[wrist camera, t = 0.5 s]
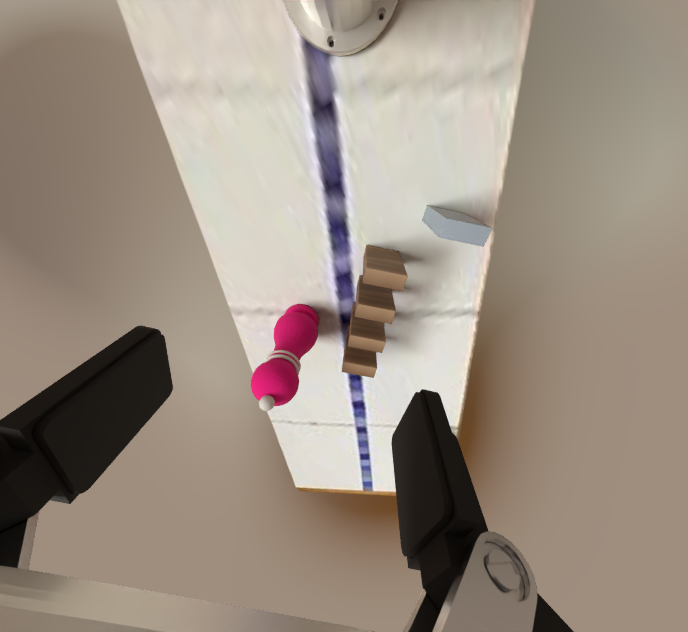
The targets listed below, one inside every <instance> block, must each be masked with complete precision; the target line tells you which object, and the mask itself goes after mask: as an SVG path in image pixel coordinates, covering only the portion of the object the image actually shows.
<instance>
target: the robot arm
mask: <svg viewBox="0 0 688 632" xmlns="http://www.w3.org/2000/svg"><path fill="white" fill-rule="evenodd" d="M283 3H284V5H285V8H286V10H287V12H288V14H289V17H290V18H291V20H292V22H293V24H294V26H295V27H296V29H297V30H298V31H299V33H300V34H301V35H302V37H303V38H304V39H305V40H306V41H307V42H308V43H310V44H311V45H312V46H313V47H315V48H316V49H318V50H320V51H321V52H323V53H327V54H330V55H333V56H346V55H350V54H354V53H357V52H358V51H360V50H362V49H364V48H366V47H367V46H368V45H370V44H371V43H372V42H373V41H374V40H376V38H377V37H378V36H379V35H380V34H381V32H382V31H383V30H384V29H385V27H386V25H387V24H388V22H389V20H390V18H391V17H392V15H393V13H394V10H395V8H396V5H397V3H398V0H283ZM380 15H383V17H384V19H383V20H379V16H380ZM331 42H334V46H333V47H330V43H331ZM172 389H173V385H172V379H171V373H170V367H169V362H168V355H167V349H166V343H165V338H164V336H163V335H161V332H160V331H159V330H157V329H154V328H149V327H145V326H137V327H135V328H134V329H132V330H131V331H129V332H128V333H127V334H125V335H124V336H122V337H121V338H119V339H118V340H117V341H115V342H113V343H112V344H111V345H109V346H108V347H106V348H105V349H104V350H102V351H100V352H99V353H97V354H96V355H95V356H93V357H92V358H90V359H89V360H87V361H86V362H84V363H83V364H81V365H80V366H78V367H77V368H76V369H74V370H73V371H71V372H70V373H68V374H67V375H65V376H64V377H62V378H61V379H60V380H58V381H57V382H55V383H54V384H52V385H51V386H49V387H48V388H46V389H45V390H44V391H42V392H41V393H39V394H38V395H36V396H35V397H33V398H32V399H30V400H29V401H27V402H26V403H25V404H23V405H22V406H20V407H19V408H18V409H16V410H15V411H13V412H11V413H10V414H9V415H7V416H6V417H4V418H3V419H1V420H0V632H374V631H369V630H364V629H359V628H354V627H350V626H344V625H338V624H333V623H327V622H321V621H316V620H310V619H305V618H300V617H294V616H289V615H283V614H278V613H272V612H266V611H261V610H256V609H250V608H245V607H239V606H233V605H228V604H222V603H216V602H211V601H204V600H199V599H193V598H188V597H182V596H177V595H171V594H165V593H159V592H154V591H148V590H142V589H137V588H131V587H125V586H119V585H113V584H108V583H102V582H95V581H90V580H84V579H78V578H73V577H67V576H60V575H55V574H49V573H43V572H37V571H32V570H29V566H30V560H31V555H32V549H33V544H34V538H35V533H36V527H37V522H38V515H39V511H40V509H41V508H42V507H43V506H44V505H45V504H46V503H47V502H48V501H49V500H52V501H57V502H63V503H68V504H71V502H72V501H73V500H74V499H75V498H76V497H77V496H78V495H79V494H80V493H83V492H85V491H87V490H88V489H89V488H90V487H91V486H92V485H93V484H94V482H95V481H96V480H97V479H98V478H99V477H100V476H101V475H102V473H103V472H104V471H105V470H106V468H107V467H108V466H109V465H110V464H111V463H112V462H113V461H114V460H115V458H116V457H117V456H118V455H119V454H120V452H121V451H122V450H123V449H124V448H125V447H126V446H127V444H128V443H129V442H130V441H131V440H132V439H133V438H134V436H135V435H136V434H137V433H138V432H139V431H140V429H141V428H142V427H143V426H144V425H145V423H146V422H147V421H148V420H149V419H150V418H151V417H152V415H153V414H154V413H155V412H156V411H157V410H158V409H159V408H160V406H161V405H162V404H163V403H164V402H165V401H166V399H167V398H168V397H169V396H170V394H171V392H172ZM392 453H393V463H394V474H395V485H396V496H397V506H398V517H399V528H400V539H401V548H402V553H403V555H404V556H407V561H408V568H410V569H416V570H421V578H422V585H423V588H424V589H423V591H422V593H421V595H420V597H419V599H418V601H417V603H416V606H415V608H414V610H413V612H412V614H411V616H410V619H409V620H408V622H407V624H406V626H405V629H404V631H403V632H573V631H572V629H571V628H570V627H569V626H568V625H567V624H566V623H565V622H564V621H563V620H562V619H561V618H560V617H559V616H558V614H557V613H556V612H555V611H554V610H553V609H552V608H551V607H550V606H549V605H548V604H547V603H546V602H545V601H544V599H542V597H541V596H540V595H539V594H538V593H537V586H536V582H535V578H534V575H533V573H532V571H531V569H530V567H529V564H528V563H527V561H526V560H525V558H524V557H523V555H522V554H521V552H520V551H519V550H518V549H517V548H516V547H515V545H514V544H513V543H512V542H510V541H509V540H508V539H506V538H505V537H504V536H502V535H500V534H498V533H496V532H489V531H488V528H487V525H486V522H485V519H484V516H483V513H482V511H481V508H480V505H479V502H478V499H477V496H476V493H475V490H474V487H473V484H472V481H471V478H470V475H469V472H468V469H467V466H466V463H465V460H464V457H463V455H462V451H461V448H460V446H459V442H458V440H457V438H456V436H455V435H454V434H453V433H452V432H451V428H450V425H449V422H448V419H447V416H446V413H445V410H444V407H443V404H442V401H441V398H440V395H439V394H438V393H437V392H432V391H428V390H423V389H422V390H421V391H420V392H416V393H415V394H414V396H413V398H412V400H411V402H410V404H409V406H408V408H407V409H406V411H405V413H404V415H403V417H402V419H401V421H400V423H399V424H398V426H397V428H396V430H395V432H394V434H393V437H392Z"/></svg>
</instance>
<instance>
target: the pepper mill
mask: <svg viewBox="0 0 688 632" xmlns="http://www.w3.org/2000/svg"><path fill="white" fill-rule="evenodd" d="M318 323H319V318H318V315H317V314H316V312H315V311H314V310H313V309H312V308H311V307H309V306H307V305H302V304H297V305H293V306H291V307H290V308H288V309H287V311H286V313H285V315H283V316H282V317H281V318H280V319H279V320H278V321H277V323H276V326H275V328H274V341H275V349H274V351H273V352H271V353H269V354H268V355H267V357H266V359H265V361H264V363H262V364H261V365H260V366H258V367H257V369H256V370H255V372H254V373H253V376H252V379H251V388H252V392H253V394H254V396H255V397H256V398H257V399H258V400H259V406H260V408H261V409H262V410H264V411H269V410H271V409H272V408H273V406H280V405H283V404H286V403H287V402H289V401H290V400H291V399H292V398H293V397H294V396H295V394H296V392H297V390H298V385H299V378H298V375H299V371H300V367H301V365H300V362H299V360H300V358H301V357H302V356H303V355H304V354H305V353H307V352H308V351H309V350H310V349H311V348H312V347H313V346H314V344H315V342H316V340H317V337H318V329H317V327H318Z"/></svg>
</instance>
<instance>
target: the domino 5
mask: <svg viewBox="0 0 688 632" xmlns="http://www.w3.org/2000/svg"><path fill="white" fill-rule="evenodd" d="M422 221H423V222H424V223H425V224H426V225H427V226H428V227H429V228H430V229H431V230H432V231H433V232H434V233H435V234H436V235H437V236H438V237H439V238H444V239H449V240H454V241H459V242H464V243H469V244H473V245H478V246H483V247H484V245H485V243H486V240H487V238H488V236H489V234H490V232H491V230H492V228H491V227H489V226H487V225H485V224H483V223H481V222H479V221H477V220H475V219H473V218H471V217H469V216H467V215H465V214H463V213H461V212H456V211H451V210H446V209H442V208H437V207H432V206H427V207H426V210H425V213H424V216H423V219H422Z"/></svg>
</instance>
